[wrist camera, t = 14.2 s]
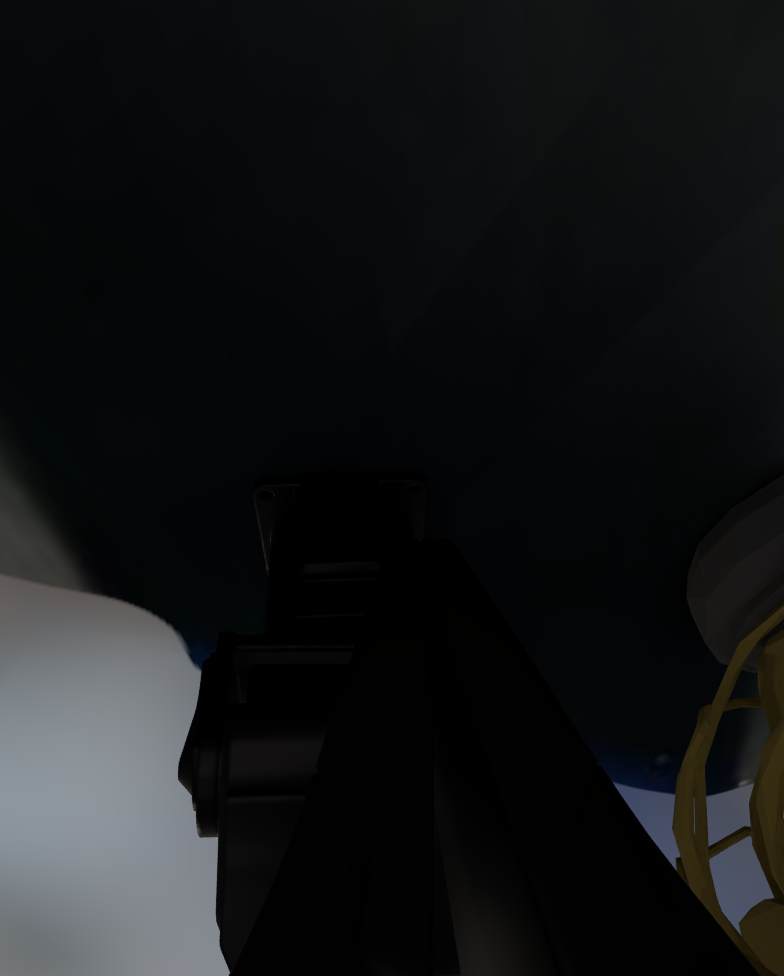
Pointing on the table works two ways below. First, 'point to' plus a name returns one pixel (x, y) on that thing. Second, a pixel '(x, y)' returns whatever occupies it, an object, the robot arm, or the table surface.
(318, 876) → the robot arm
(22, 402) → the table surface
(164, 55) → the table surface
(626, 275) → the table surface
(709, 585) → the electric fan
